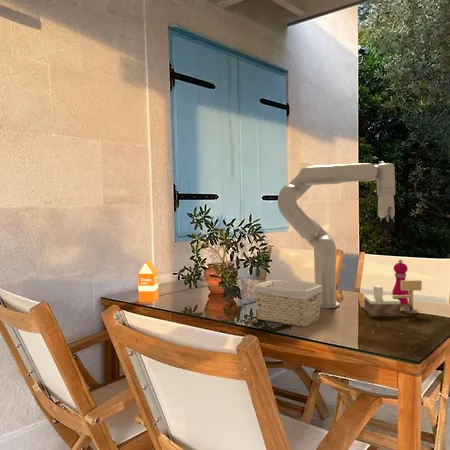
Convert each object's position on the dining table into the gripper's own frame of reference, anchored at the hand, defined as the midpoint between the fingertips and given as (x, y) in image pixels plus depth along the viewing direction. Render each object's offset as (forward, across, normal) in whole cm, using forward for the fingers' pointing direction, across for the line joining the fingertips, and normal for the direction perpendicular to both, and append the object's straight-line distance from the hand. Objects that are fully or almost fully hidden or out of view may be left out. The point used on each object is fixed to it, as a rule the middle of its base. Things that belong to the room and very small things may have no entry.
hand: (387, 230), depth 204 cm
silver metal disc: (+34, +10, +6) cm, 36 cm away
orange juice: (+31, -16, -112) cm, 118 cm away
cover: (+29, +10, -6) cm, 31 cm away
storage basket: (+33, +20, -46) cm, 61 cm away
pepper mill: (+35, -9, +7) cm, 36 cm away
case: (+34, +10, -6) cm, 36 cm away
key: (+33, +10, +4) cm, 35 cm away
